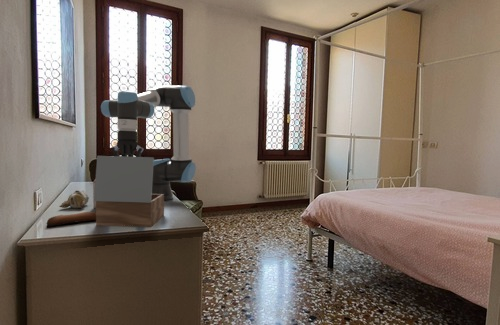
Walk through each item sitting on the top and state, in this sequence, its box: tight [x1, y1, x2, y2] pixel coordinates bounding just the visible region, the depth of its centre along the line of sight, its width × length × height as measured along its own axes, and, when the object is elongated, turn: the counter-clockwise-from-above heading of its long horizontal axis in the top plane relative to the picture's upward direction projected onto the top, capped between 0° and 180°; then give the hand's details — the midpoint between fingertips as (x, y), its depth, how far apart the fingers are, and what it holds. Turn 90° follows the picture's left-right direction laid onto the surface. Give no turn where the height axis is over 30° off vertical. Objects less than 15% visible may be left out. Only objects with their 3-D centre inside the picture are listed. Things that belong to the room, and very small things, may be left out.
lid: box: [94, 155, 155, 203], centre depth 120 cm, size 18×22×1 cm
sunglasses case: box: [46, 211, 96, 229], centre depth 124 cm, size 18×7×7 cm
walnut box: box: [95, 194, 165, 228], centre depth 129 cm, size 18×22×10 cm
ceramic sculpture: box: [59, 190, 90, 209], centre depth 150 cm, size 11×9×15 cm
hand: (127, 187), depth 124 cm, fingers closed
